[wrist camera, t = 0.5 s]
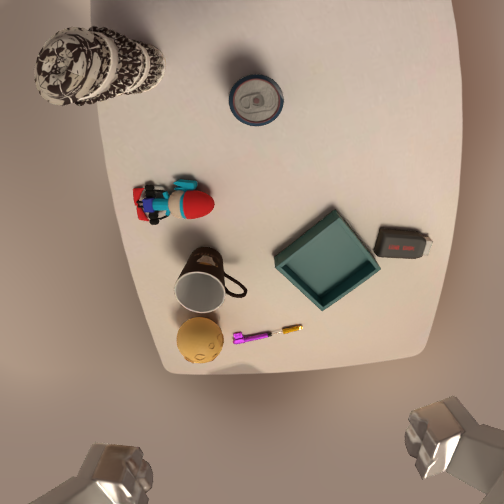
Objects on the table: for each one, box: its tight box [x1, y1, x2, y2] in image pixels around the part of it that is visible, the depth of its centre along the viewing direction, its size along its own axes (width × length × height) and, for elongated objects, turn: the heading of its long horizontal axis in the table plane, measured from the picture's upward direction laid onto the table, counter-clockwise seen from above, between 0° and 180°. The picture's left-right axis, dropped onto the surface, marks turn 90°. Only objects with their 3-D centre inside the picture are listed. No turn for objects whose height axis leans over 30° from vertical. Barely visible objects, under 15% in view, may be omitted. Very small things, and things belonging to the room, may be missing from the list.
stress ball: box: [177, 317, 224, 363], centre depth 64 cm, size 10×10×10 cm
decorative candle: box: [34, 26, 166, 106], centre depth 32 cm, size 9×9×25 cm
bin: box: [274, 210, 381, 311], centre depth 59 cm, size 15×15×4 cm
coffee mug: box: [174, 247, 247, 313], centre depth 57 cm, size 12×9×10 cm
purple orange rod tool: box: [233, 326, 303, 344], centre depth 69 cm, size 3×1×16 cm
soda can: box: [229, 74, 284, 126], centre depth 40 cm, size 7×7×12 cm
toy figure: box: [133, 179, 215, 225], centre depth 52 cm, size 8×5×15 cm
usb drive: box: [374, 228, 433, 259], centre depth 57 cm, size 5×12×3 cm, turn 87°
